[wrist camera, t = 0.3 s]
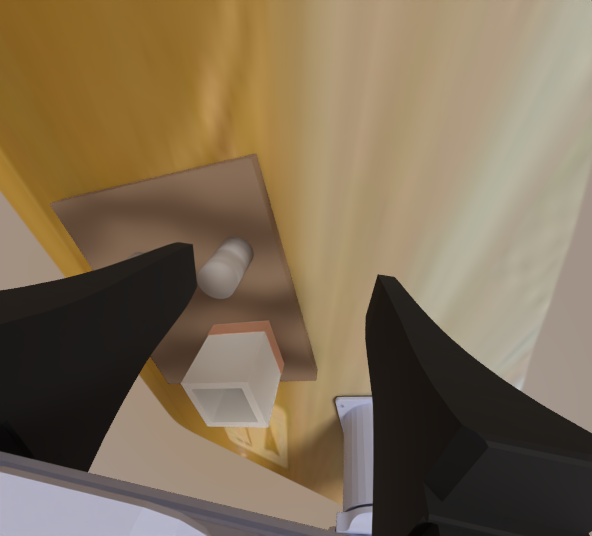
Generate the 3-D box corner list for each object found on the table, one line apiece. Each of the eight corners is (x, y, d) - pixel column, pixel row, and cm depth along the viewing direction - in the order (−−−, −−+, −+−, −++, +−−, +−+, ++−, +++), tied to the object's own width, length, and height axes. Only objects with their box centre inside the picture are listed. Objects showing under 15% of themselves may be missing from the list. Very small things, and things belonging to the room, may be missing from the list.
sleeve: (284, 363, 26) (269, 427, 21) (233, 365, 28) (207, 426, 23) (269, 319, 24) (247, 381, 19) (213, 324, 25) (179, 383, 20)
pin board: (317, 369, 28) (311, 422, 24) (174, 374, 32) (146, 420, 28) (256, 153, 18) (226, 173, 14) (63, 198, 22) (-7, 225, 18)
